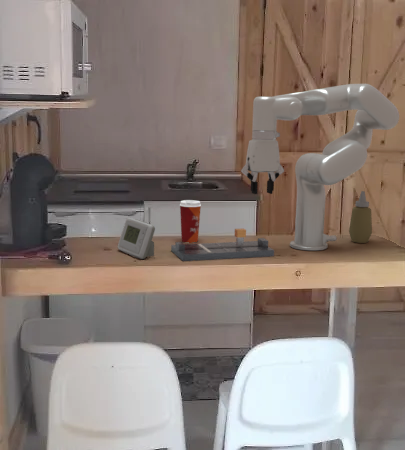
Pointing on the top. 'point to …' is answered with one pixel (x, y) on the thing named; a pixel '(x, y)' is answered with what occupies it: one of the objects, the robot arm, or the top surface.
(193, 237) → the paper cup
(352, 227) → the squeeze bottle
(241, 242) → the fader tab
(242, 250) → the grey slider board
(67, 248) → the top surface
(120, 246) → the digital clock
